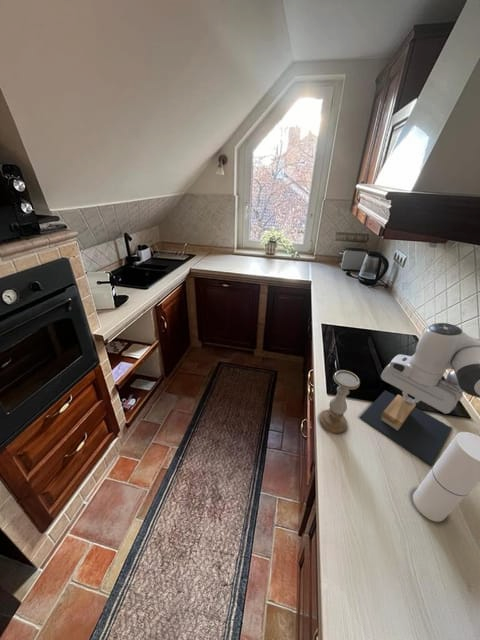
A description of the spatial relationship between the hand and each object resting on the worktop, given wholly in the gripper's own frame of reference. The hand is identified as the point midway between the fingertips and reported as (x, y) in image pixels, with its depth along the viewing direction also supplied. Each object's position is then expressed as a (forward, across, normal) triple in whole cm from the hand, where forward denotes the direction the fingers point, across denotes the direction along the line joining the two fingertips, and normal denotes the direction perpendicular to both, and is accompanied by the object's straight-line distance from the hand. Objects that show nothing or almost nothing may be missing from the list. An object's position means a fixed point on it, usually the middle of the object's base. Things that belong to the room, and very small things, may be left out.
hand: (407, 403), depth 84 cm
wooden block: (+6, -2, 0) cm, 6 cm away
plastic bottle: (+9, -8, -18) cm, 21 cm away
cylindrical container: (+8, -16, +22) cm, 28 cm away
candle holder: (+8, +14, +19) cm, 25 cm away
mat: (+8, -2, 0) cm, 8 cm away
